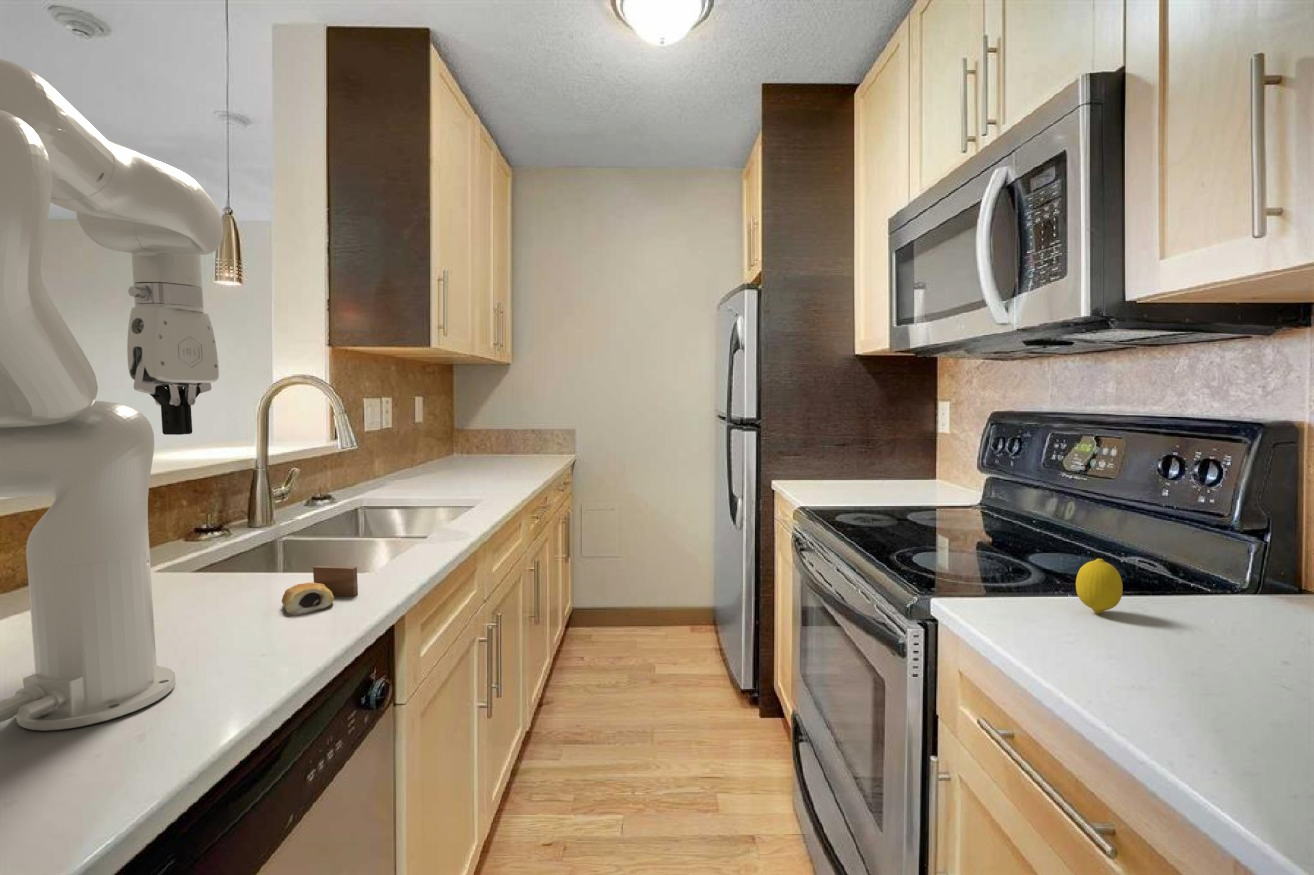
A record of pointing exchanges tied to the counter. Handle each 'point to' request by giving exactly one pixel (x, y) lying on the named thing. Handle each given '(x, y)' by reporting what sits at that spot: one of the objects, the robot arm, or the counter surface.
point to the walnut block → (337, 579)
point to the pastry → (307, 598)
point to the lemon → (1099, 585)
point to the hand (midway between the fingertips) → (177, 433)
